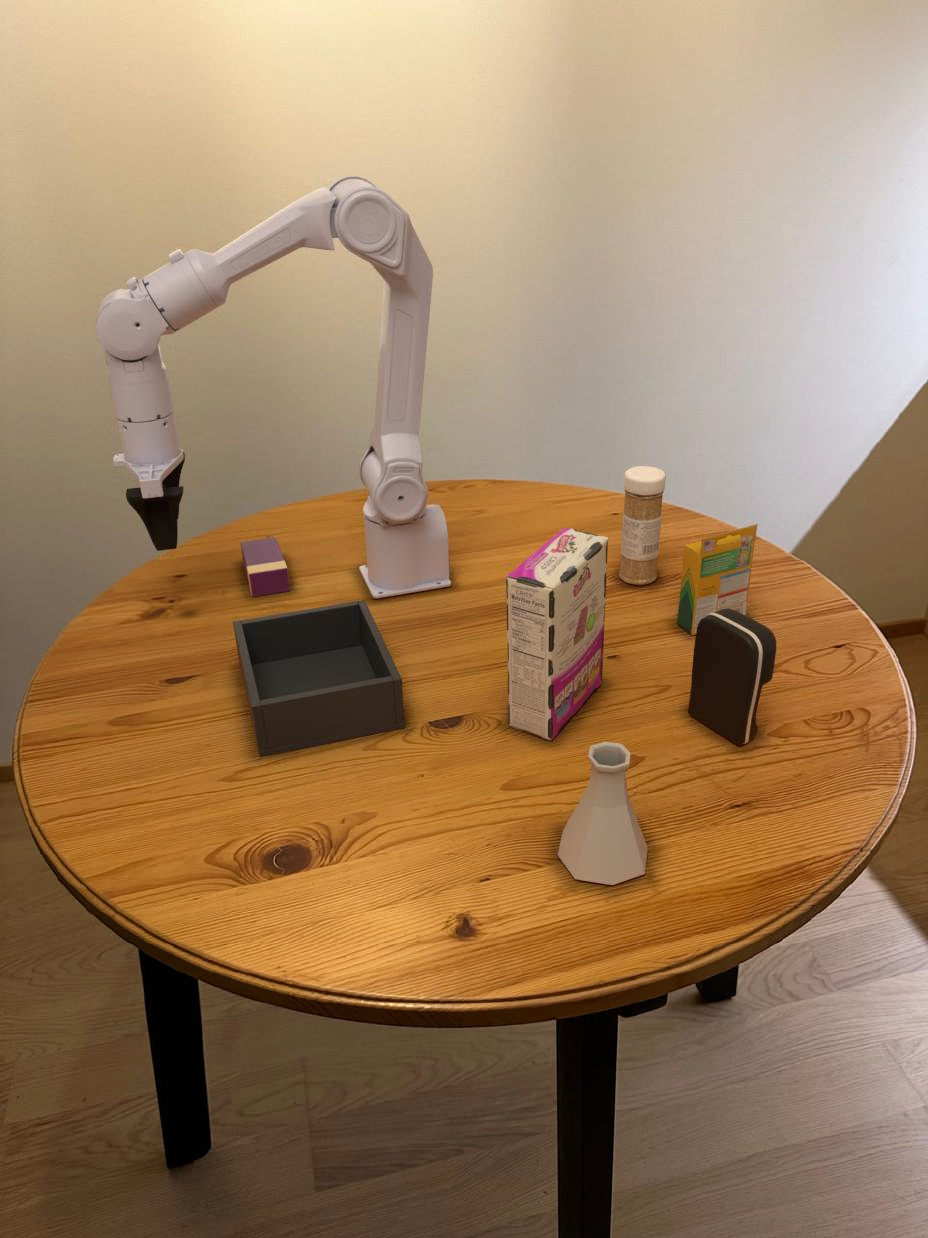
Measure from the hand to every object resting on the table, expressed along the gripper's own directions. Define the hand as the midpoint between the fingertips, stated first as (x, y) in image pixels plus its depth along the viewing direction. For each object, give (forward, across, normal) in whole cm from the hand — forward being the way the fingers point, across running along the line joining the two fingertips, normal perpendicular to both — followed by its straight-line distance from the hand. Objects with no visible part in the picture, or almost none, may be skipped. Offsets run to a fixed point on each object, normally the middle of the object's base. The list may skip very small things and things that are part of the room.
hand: (168, 533), depth 109 cm
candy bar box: (+10, +28, +36) cm, 47 cm away
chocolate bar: (+10, -6, +10) cm, 15 cm away
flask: (+10, +49, +33) cm, 60 cm away
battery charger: (+10, +35, +50) cm, 62 cm away
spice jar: (+10, +6, +53) cm, 54 cm away
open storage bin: (+10, +21, +14) cm, 27 cm away
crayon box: (+10, +18, +57) cm, 60 cm away
